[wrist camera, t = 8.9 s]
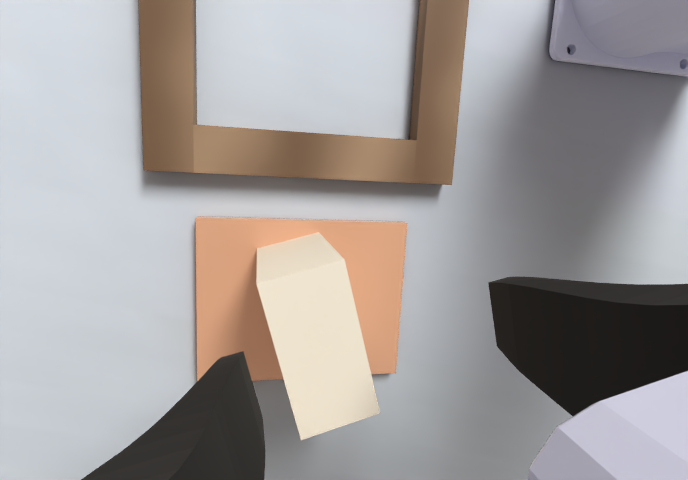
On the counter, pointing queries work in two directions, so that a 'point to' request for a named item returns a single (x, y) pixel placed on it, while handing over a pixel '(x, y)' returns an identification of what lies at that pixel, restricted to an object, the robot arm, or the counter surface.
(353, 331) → the cream upright block
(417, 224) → the counter surface
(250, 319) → the peach rectangular tile
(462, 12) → the wooden picture frame
